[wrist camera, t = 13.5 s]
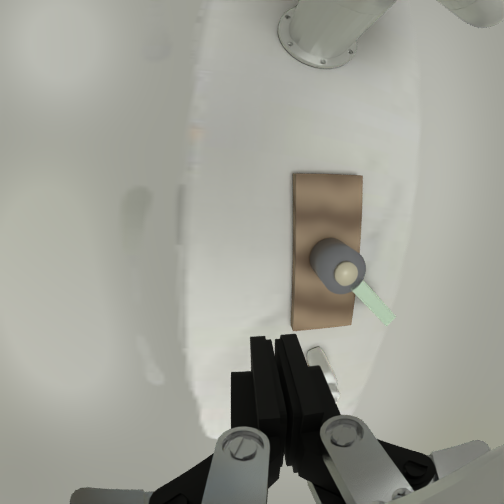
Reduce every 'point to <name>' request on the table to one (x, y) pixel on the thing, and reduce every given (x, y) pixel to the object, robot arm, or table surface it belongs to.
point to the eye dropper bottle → (324, 369)
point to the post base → (314, 230)
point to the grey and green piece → (346, 274)
